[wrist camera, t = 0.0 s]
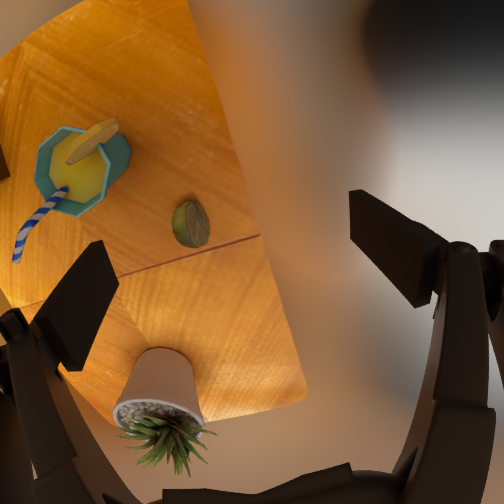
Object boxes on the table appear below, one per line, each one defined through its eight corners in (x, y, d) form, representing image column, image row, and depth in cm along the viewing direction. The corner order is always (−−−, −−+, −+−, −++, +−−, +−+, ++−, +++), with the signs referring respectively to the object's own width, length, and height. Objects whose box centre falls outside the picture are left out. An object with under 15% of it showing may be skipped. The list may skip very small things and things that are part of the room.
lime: (186, 191, 32) (181, 204, 27) (221, 214, 34) (223, 230, 29) (166, 222, 33) (158, 239, 29) (200, 243, 35) (198, 263, 30)
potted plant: (199, 396, 47) (202, 498, 29) (123, 378, 44) (103, 480, 26) (221, 350, 43) (230, 471, 25) (131, 327, 39) (100, 448, 21)
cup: (101, 225, 32) (44, 294, 19) (55, 189, 29) (-20, 238, 16) (169, 130, 29) (130, 141, 15) (117, 91, 26) (47, 78, 12)
